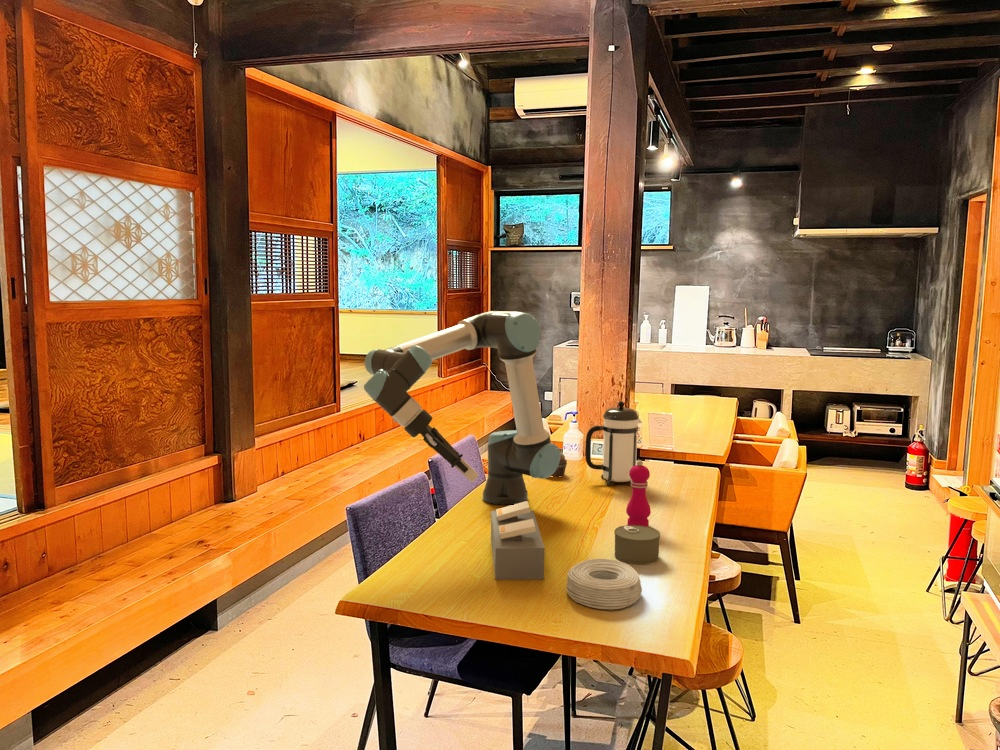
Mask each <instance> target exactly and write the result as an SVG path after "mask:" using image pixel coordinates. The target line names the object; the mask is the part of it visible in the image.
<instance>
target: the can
mask: <svg viewBox="0 0 1000 750" xmlns="http://www.w3.org/2000/svg"><path fill="white" fill-rule="evenodd" d="M660 538H661V532H660V531H659V530H657V529H656V528H653V527H650V526H648V527H647V526H640V525H628V524H627V525H621V526H618V527H616V528H615V529H614V558H615V560H617V561H620V562H623V563H626V564H628V565H636V566H645V565H646V564H647V565H652V564H655V563H657V562H658V561H659V553H660V540H661V539H660ZM656 561H657V562H656ZM654 562H655V563H654ZM651 563H652V564H651ZM647 565H646V566H647Z"/></svg>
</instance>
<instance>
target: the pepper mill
mask: <svg viewBox="0 0 1000 750" xmlns="http://www.w3.org/2000/svg"><path fill="white" fill-rule="evenodd" d="M643 464H644V462H643V461H642V460H636V465H635V466H633V467H632V468H631V469H630V472H629V476H630V478H631V479H632V481H631V482H630V487H631V488H632V489H631V490H632V491H631V497H630V499H629V501H628V503H627V505H626V509H625V511H626V514H627V516H628V518H627V525H640V526H647V527H650V526H649V523H650V521H649V519H648V518H649V516H650V515H651V513H652V511H651V505H650V503H649V501H648V499H647V494H646V493H647V492H646V491H647V488H648V486H649V485H648V483H649V482H648V479H649V478H650V475H651V474H650V470H649V468H648V467H647V466H645V465H643Z"/></svg>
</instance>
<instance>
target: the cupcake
mask: <svg viewBox="0 0 1000 750" xmlns="http://www.w3.org/2000/svg"><path fill="white" fill-rule="evenodd" d="M559 450H560V462H559V465H558V467H557V469H556V471H555V472H554V473H553V474H552V475H551V476H553V477H558V478H560V477H559V476H563V477H564V476H565V473H566V468H567V465H568V462H567V461H568V460H567V459H566V456H565V454H563V450H562V448H559Z"/></svg>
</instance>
